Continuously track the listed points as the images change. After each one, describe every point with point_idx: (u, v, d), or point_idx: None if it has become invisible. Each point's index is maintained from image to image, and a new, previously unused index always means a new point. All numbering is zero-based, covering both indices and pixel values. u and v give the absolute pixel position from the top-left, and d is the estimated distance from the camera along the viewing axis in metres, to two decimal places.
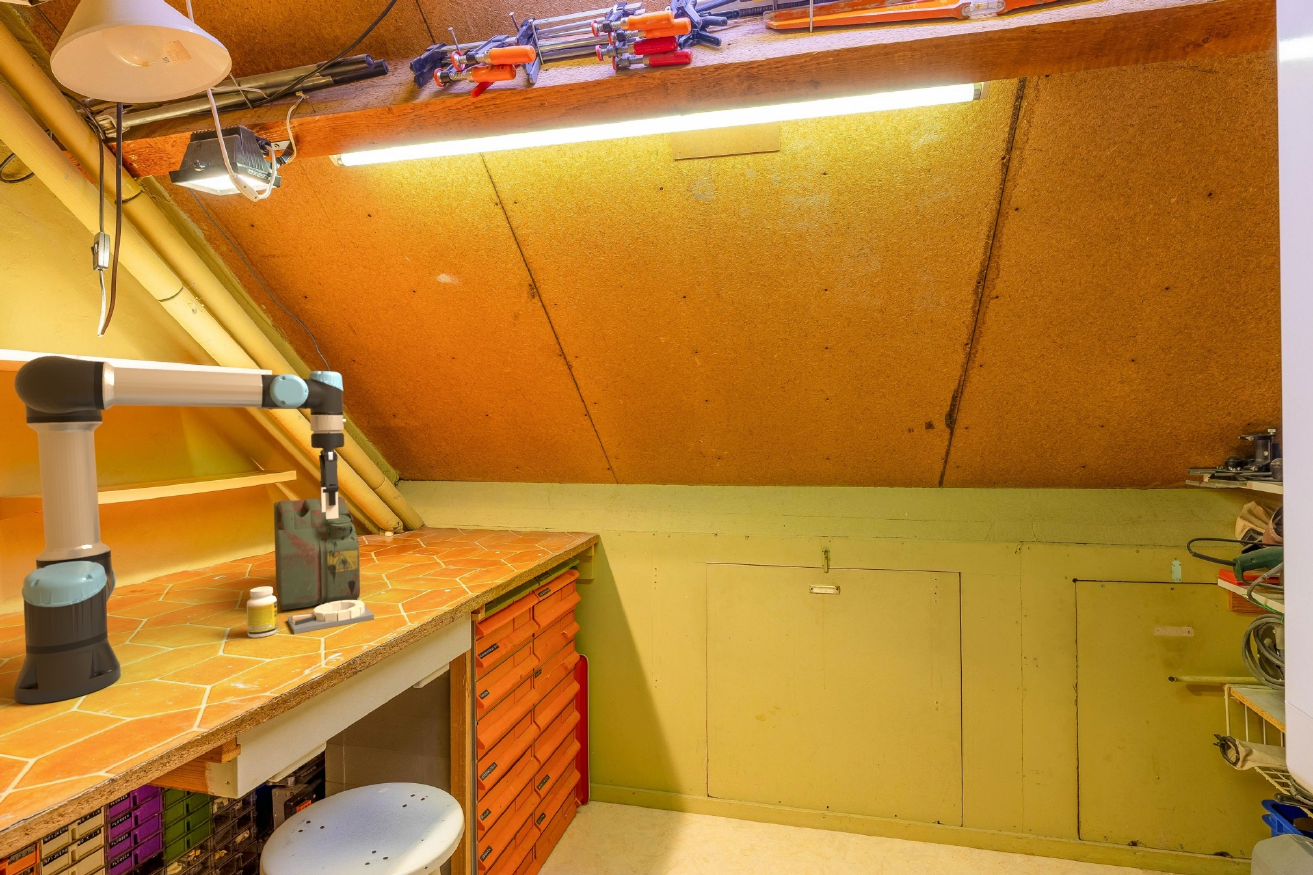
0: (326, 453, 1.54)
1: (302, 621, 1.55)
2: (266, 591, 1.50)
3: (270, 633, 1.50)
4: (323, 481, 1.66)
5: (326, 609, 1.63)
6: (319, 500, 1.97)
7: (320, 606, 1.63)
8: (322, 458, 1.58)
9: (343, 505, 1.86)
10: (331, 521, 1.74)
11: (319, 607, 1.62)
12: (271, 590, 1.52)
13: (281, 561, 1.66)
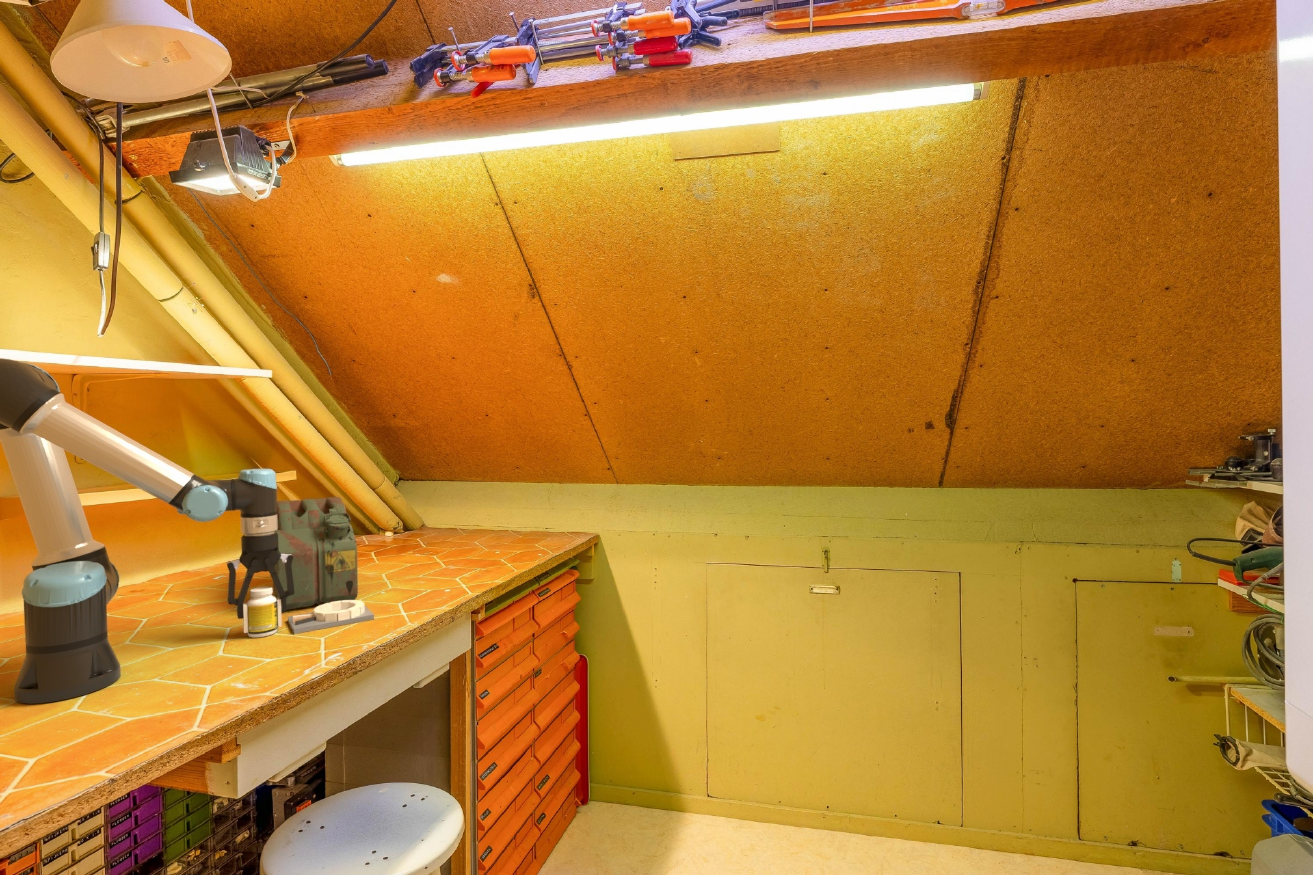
0: None
1: (302, 621, 1.55)
2: (266, 591, 1.50)
3: (270, 633, 1.50)
4: None
5: (326, 609, 1.63)
6: (316, 500, 1.96)
7: (320, 606, 1.63)
8: None
9: (340, 505, 1.86)
10: (329, 521, 1.74)
11: (319, 607, 1.62)
12: (271, 590, 1.52)
13: (279, 561, 1.66)
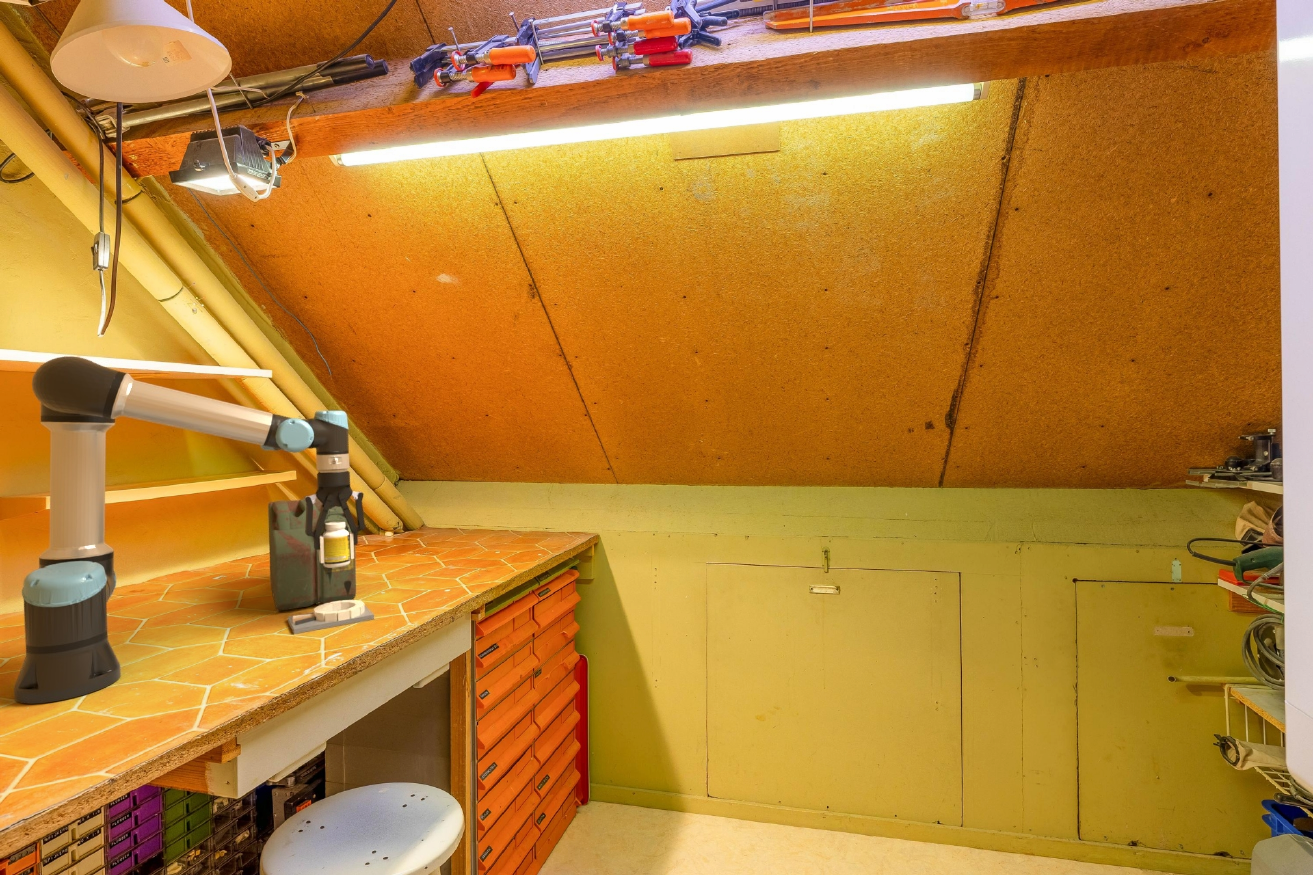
0: (304, 498, 1.58)
1: (302, 621, 1.55)
2: (340, 524, 1.60)
3: (344, 564, 1.61)
4: (348, 524, 1.64)
5: (326, 609, 1.63)
6: None
7: (320, 606, 1.63)
8: None
9: None
10: (327, 521, 1.74)
11: (319, 607, 1.62)
12: (344, 524, 1.62)
13: (277, 561, 1.66)
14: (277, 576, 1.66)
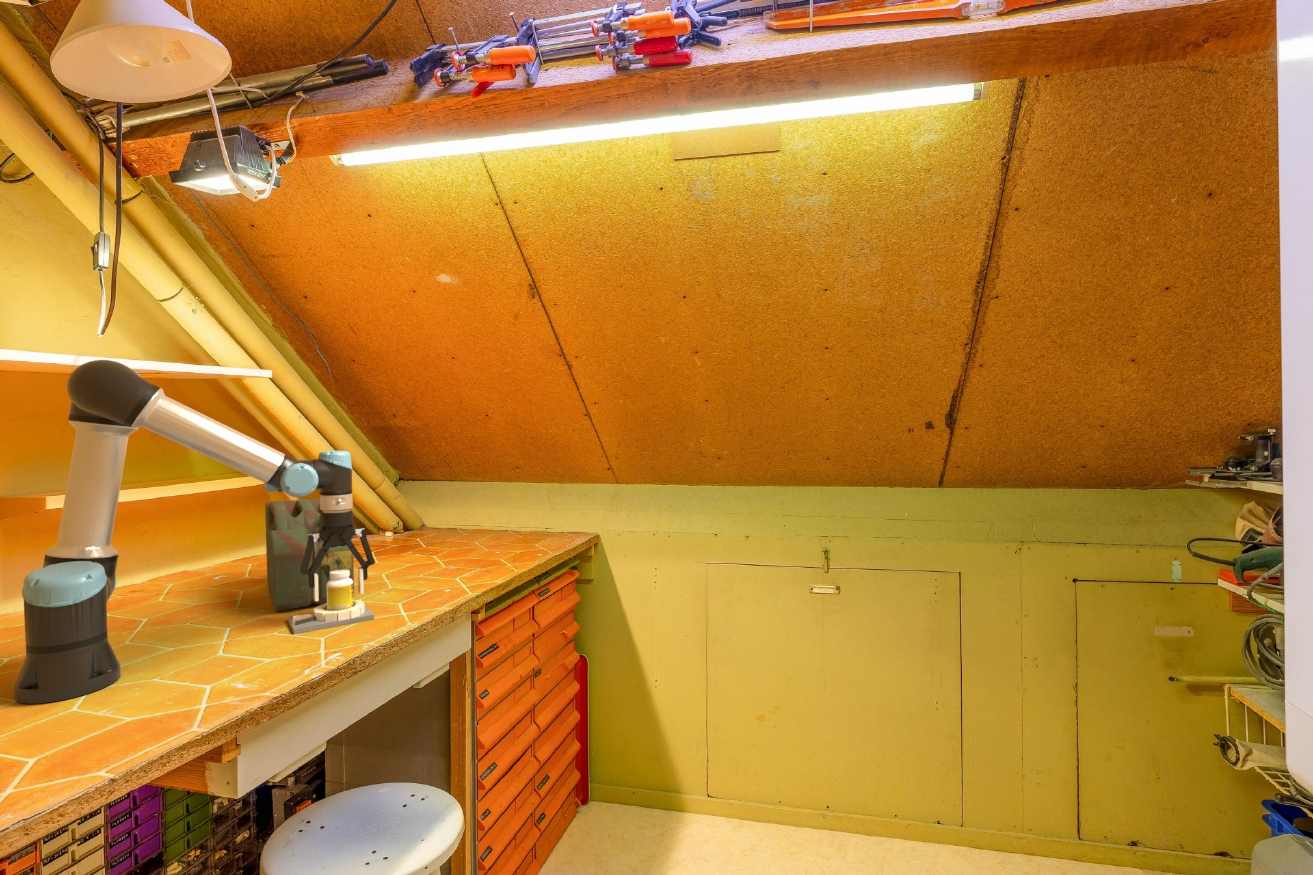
0: (307, 535, 1.59)
1: (302, 621, 1.55)
2: (344, 573, 1.61)
3: None
4: (357, 560, 1.66)
5: (326, 609, 1.63)
6: (311, 500, 1.96)
7: (320, 606, 1.63)
8: None
9: None
10: None
11: (319, 607, 1.62)
12: (348, 573, 1.63)
13: (275, 561, 1.66)
14: (275, 576, 1.66)
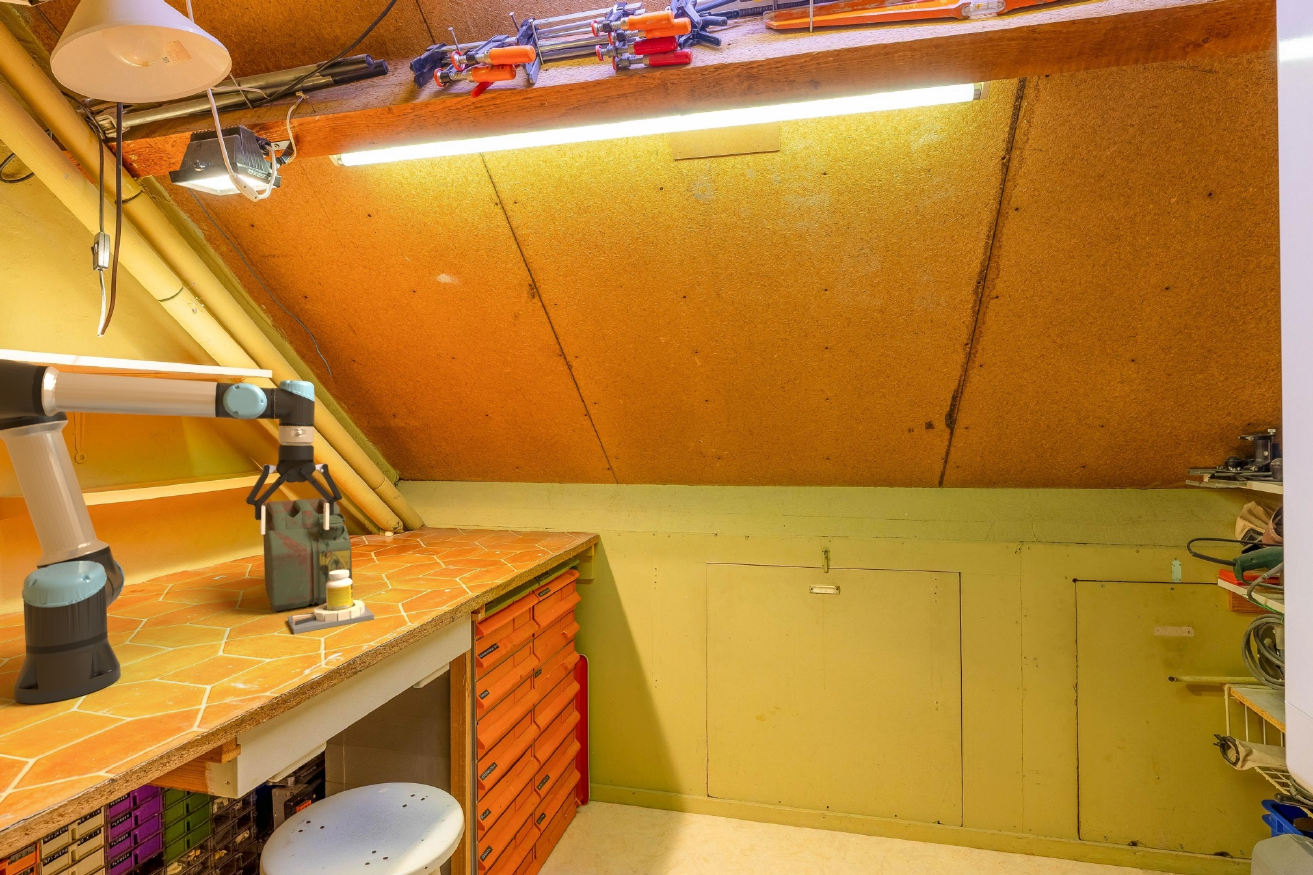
0: (263, 465, 1.50)
1: (302, 621, 1.55)
2: (344, 574, 1.61)
3: None
4: None
5: (326, 609, 1.63)
6: (309, 500, 1.96)
7: (320, 606, 1.63)
8: None
9: (334, 505, 1.85)
10: (323, 521, 1.74)
11: (319, 607, 1.62)
12: (348, 573, 1.63)
13: (273, 562, 1.65)
14: (273, 576, 1.66)
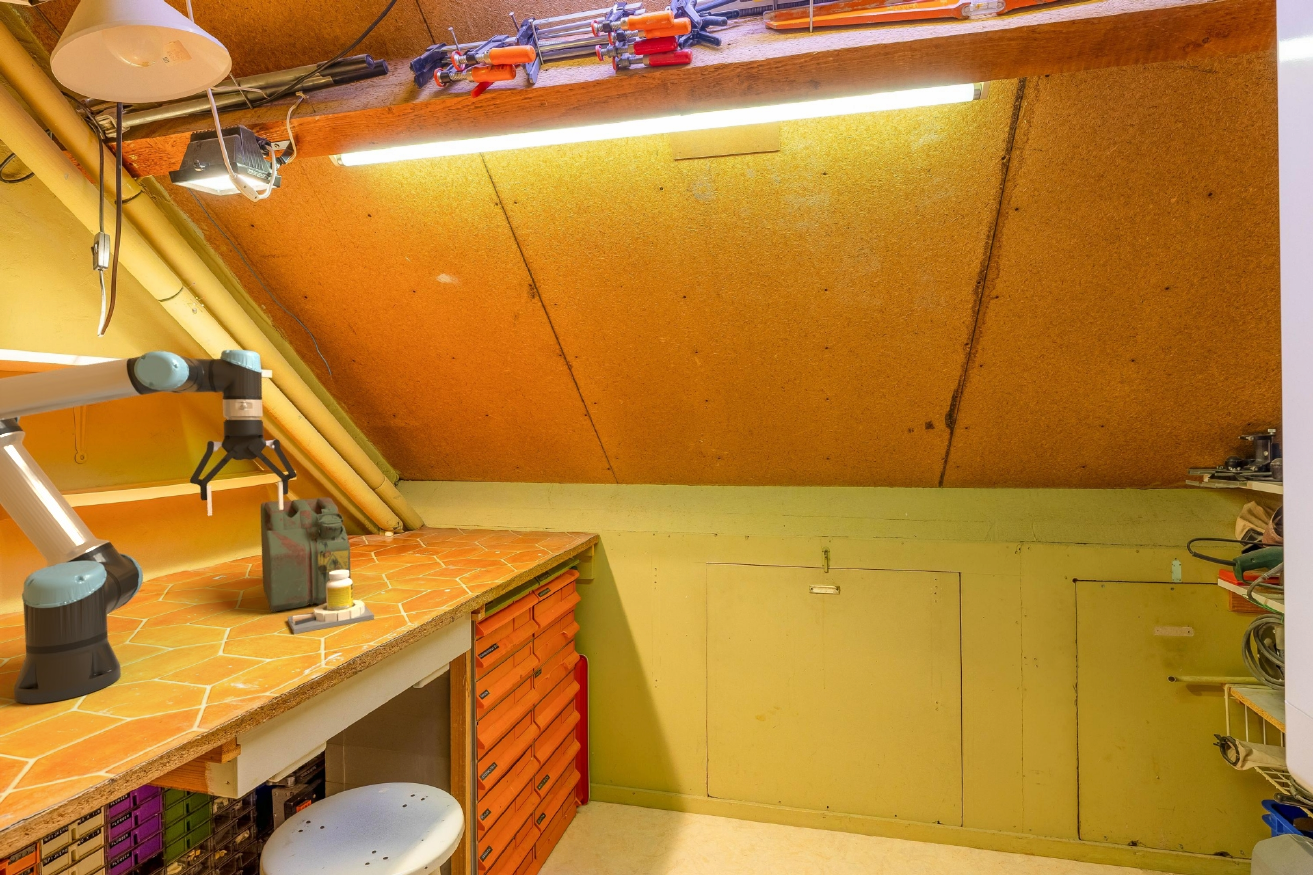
0: (207, 442, 1.40)
1: (302, 621, 1.55)
2: (344, 574, 1.61)
3: None
4: (276, 474, 1.47)
5: (326, 609, 1.63)
6: (307, 501, 1.95)
7: (320, 606, 1.63)
8: None
9: (332, 505, 1.85)
10: (322, 521, 1.73)
11: (319, 607, 1.62)
12: (348, 573, 1.63)
13: (271, 562, 1.65)
14: (272, 577, 1.66)
